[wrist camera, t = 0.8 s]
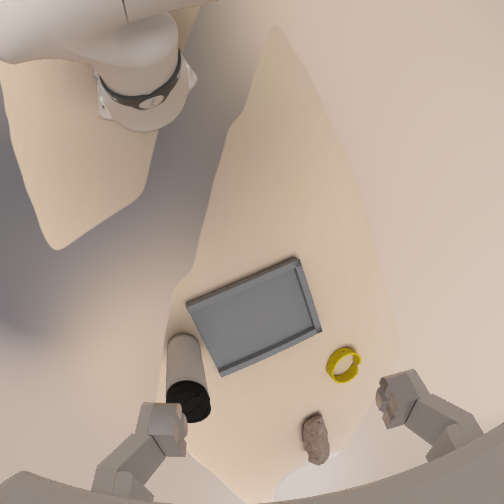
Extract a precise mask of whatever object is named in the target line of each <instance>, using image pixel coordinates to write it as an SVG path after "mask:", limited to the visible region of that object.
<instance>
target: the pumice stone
mask: <svg viewBox="0 0 504 504" xmlns="http://www.w3.org/2000/svg"><path fill="white" fill-rule="evenodd" d="M327 434H328V433H327V430H326V427H325V424H324V422H323V419H322V416H321V415H316V416H314V417H312V418H311V419H309V420H308V421H306V422H305V424H304V431H303V438H304V447H305V450H307V453H308V455H309V458H308V459H309V460H308V461H309V462H311V463H313V464H316V465H320V464H323V463H324V462H325V461H326V460H327V459H328V456H329V449H330V448H329V442H328V438H327Z"/></svg>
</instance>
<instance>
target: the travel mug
mask: <svg viewBox="0 0 504 504" xmlns="http://www.w3.org/2000/svg"><path fill="white" fill-rule="evenodd" d="M166 403H180V405H181V407H182V413H183V414H185V416H186V420H187V423H195V422H199V421H202V420H204V419H205V418H207V417H208V415H209V414H210V412H211V406H210V397H209V393H208V388H207V383H206V378H205V372H204V367H203V361H202V355H201V349H200V344H199V342H198V340H197V339H196V338H195V337H194V336H192V335H190V334H185V333H182V334H177V335H175V336H174V337H172V338H171V339H170V341H169V343H168V352H167V373H166Z"/></svg>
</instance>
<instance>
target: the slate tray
mask: <svg viewBox="0 0 504 504" xmlns="http://www.w3.org/2000/svg"><path fill="white" fill-rule="evenodd" d="M186 308H187V310H188V312H189V313H190V314H191V316H192V318H193V321H194V323H195V325H196V327H197V329H198V331H199V333H200V335H201V337H202V339H203V341H204V343H205V345H206V347H207V349H208V351H209V353H210V355H211V357H212V359H213V361H214V362H215V364H216V366H217V368H218V371H219V374H220V376H221V377H224V376H226V375H229V374H231V373H233V372H236V371H238V370H241V369H243V368H245V367H248V366H250V365H252V364H254V363H257V362H259V361H261V360H263V359H266V358H268V357H270V356H272V355H274V354H277V353H279V352H281V351H283V350H285V349H287V348H289V347H291V346H293V345H296V344H298V343H300V342H302V341H304V340H306V339H308V338H310V337H312V336H314V335H316V334H318V333H320V332H322V328H321V325H320V322H319V319H318V315H317V312H316V309H315V306H314V302H313V299H312V296H311V293H310V290H309V287H308V284H307V280H306V277H305V274H304V271H303V268H302V265H301V262H300V259H298V258H296V257H293V258H291V259H288V260H286V261H284V262H282V263H279V264H277V265H275V266H272V267H270V268H268V269H265V270H263V271H261V272H259V273H256V274H254V275H252V276H249V277H247V278H245V279H242V280H240V281H238V282H235V283H233V284H231V285H228V286H226V287H223V288H221V289H219V290H216V291H214V292H212V293H209V294H207V295H204V296H202V297H200V298H197V299H195V300H192V301H190V302H188V303H186Z"/></svg>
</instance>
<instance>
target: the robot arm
mask: <svg viewBox="0 0 504 504" xmlns="http://www.w3.org/2000/svg"><path fill="white" fill-rule="evenodd" d="M213 1H216V0H0V60H2V61H4V62H7V63H10V64H19V63H23V62H28V61H33V60H41V59H62V60H70V61H75V62H80V63H84V64H87V65H90V66H92V67H93V71H94V76H95V78H97V90H98V110H99V115H100V117H101V118H102V119H105V120H111V121H116V122H117V123H119V124H120V125H122V126H123V127H125V128H127V129H130V130H133V131H140V132H146V131H153V130H156V129H159V128H162V127H164V126H165V125H167V124H169V123H170V122H171V121H172V120H174V119H175V118H176V117H177V116H178V115H179V113H180V112H181V110H182V109H183V107H184V105H185V102H186V99H187V95H188V93H189V92H190V91H191V90H192V88H193V87H194V86H195V85H196V83H197V76H196V74H195V73H194V71H193V70H192V68H191V67H190V65H189V64H188V63H187V61H186V60H185V58H184V57H183V55H182V54H181V52H180V49H179V47H178V42H179V30H178V26H177V23H176V21H175V19H174V18H173V17H172V15H171V14H170V13H169V12H170V11H174V10H179V9H184V8H189V7H194V6H200V5H203V4H206V3H210V2H213ZM103 106H104V107H105V108H103ZM379 384H380V386H381V387H379V388H378V389H377V392H376V403H377V406H378V409H379V410H380V411H382V412H384V414H383V417H382V418H383V421H384V423H385V425H386V427H387V429H390V428H393V427H397V426H400V425H403V424H405V426H407V427H408V428H409V429H410V430H412V431H413V432H414V433H416V434H417V435H418V436H420V437H421V438H423V439H424V440H425V441H426V442H428V443H429V444H431V445H432V446H433V447H432V448H431V449H430V451H429V452H428V453H427V455H426V459H427V461H428V462H427V463H425V464H423V465H420V466H418V467H415V468H413V469H410V470H407V471H405V472H402V473H399V474H396V475H393V476H391V477H388V478H385V479H381V480H378V481H375V482H372V483H368V484H365V485H361V486H358V487H354V488H350V489H346V490H342V491H338V492H333V493H328V494H323V495H319V496H313V497H307V498H301V499H295V500H287V501H279V502H270V503H260V504H504V422H503V423H502V424H500V425H499V426H497V427H495V428H494V429H492V430H491V431H489V432H488V433H485V434H484V433H483V432H482V430H481V428H480V426H479V425H478V423H477V421H476V420H475V418H474V417H473V415H472V414H471V413H469V412H467V411H465V410H463V409H461V408H459V407H457V406H455V405H453V404H451V403H449V402H447V401H446V400H443V399H442V398H440V397H437V396H436V395H434V394H432V395H430V393H429V392H428V390H427V389H426V387H425V385H424V383H423V382H422V380H421V379H420V377H419V375H418V374H417V372H416V370H414V369H411V370H408V371H404V372H400V373H396V374H393V375H389V376H385V377H382V378H381V379H380V382H379ZM187 430H188V428H187V420H186V416H185V414H183V413H182V407H181V405H180V403H148V402H144V403H143V404H142V406H141V410H140V414H139V418H138V423H137V427H136V431H135V434H131V435H130V436H129V437H128V438H127V439H126V440H125V441H124V442H123V443H122V444H121V445H119V446H118V447H117V448H116V449H115V450H114V451H113V452H112V453H111V454H110V455H109V456H108V457H107V458H105V459H104V460H103V461H102V462H101V463H100V464H99V465H98V466H97V469H96V473H95V477H94V481H93V485H92V489H91V491H88V490H85V489H81V488H76V487H73V486H70V485H66V484H63V483H59V482H56V481H53V480H50V479H47V478H44V477H41V476H39V475H36V474H33V473H31V472H27V471H21V472H19V473H17V474H15V475H13V476H12V477H10V478H9V479H7V480H6V481H4V482H3V483H1V484H0V504H169V503H158V502H153V497H154V496H153V495H152V493H151V492H150V491H149V490H147V489H146V488H145V487H144V484H145V483H146V482H147V481H148V479H149V478H150V477H151V476H152V474H153V473H154V472H155V471H156V469H157V468H158V467H159V465H160V464H161V463H162V461H163V460H164V459H165V458H166V457H165V456H168V457H185V454H186V442H185V440H184V438H185V437H186V436H187Z"/></svg>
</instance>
